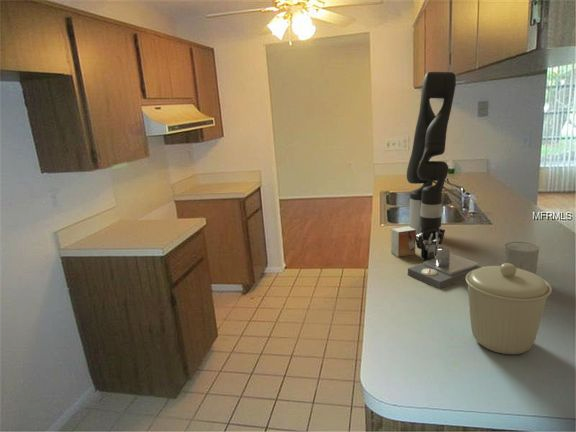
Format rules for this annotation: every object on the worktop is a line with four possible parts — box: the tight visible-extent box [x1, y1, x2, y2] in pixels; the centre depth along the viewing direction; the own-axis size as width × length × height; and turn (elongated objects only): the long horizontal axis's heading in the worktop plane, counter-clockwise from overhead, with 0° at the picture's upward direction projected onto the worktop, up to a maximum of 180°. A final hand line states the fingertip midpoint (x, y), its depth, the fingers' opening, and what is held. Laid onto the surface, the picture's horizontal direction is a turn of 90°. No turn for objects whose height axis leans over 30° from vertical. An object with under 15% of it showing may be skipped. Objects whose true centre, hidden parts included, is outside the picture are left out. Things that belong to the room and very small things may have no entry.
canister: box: [464, 262, 553, 356], centre depth 96 cm, size 18×18×21 cm
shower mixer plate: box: [422, 253, 480, 275], centre depth 140 cm, size 14×12×1 cm
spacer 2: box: [435, 246, 451, 268], centre depth 137 cm, size 4×4×6 cm
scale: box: [407, 263, 482, 289], centre depth 139 cm, size 21×14×3 cm, turn 119°
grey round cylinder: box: [503, 241, 540, 275], centre depth 129 cm, size 10×10×12 cm
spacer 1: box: [423, 242, 436, 261], centre depth 152 cm, size 4×4×6 cm
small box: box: [390, 225, 416, 258], centre depth 159 cm, size 8×6×10 cm
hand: (429, 256), depth 152 cm, fingers closed on spacer 1, 4 cm apart
